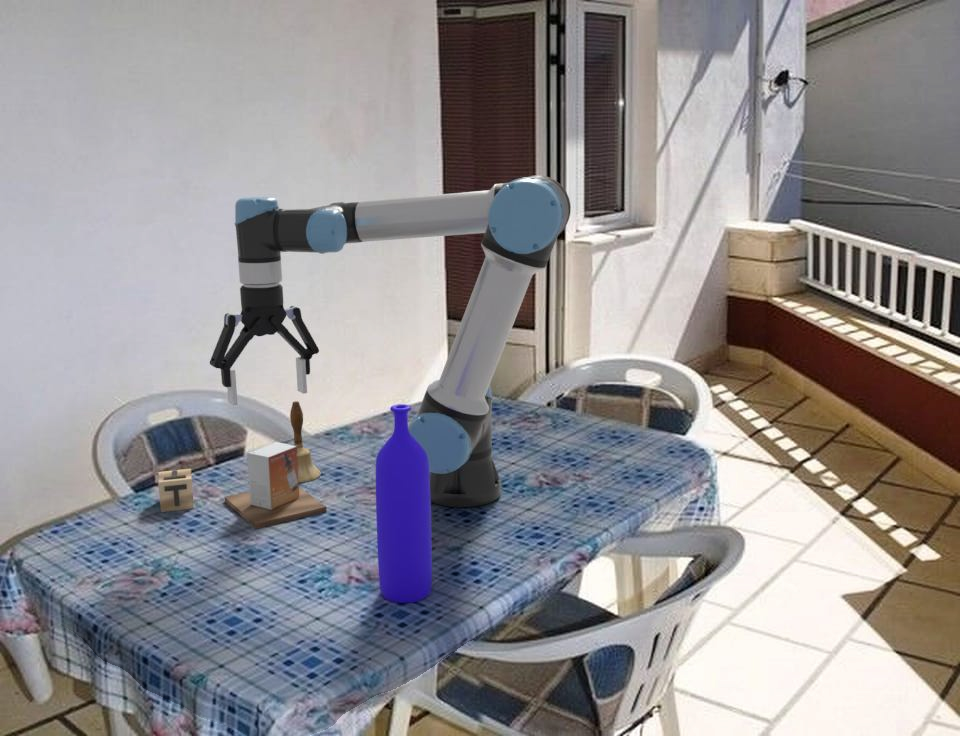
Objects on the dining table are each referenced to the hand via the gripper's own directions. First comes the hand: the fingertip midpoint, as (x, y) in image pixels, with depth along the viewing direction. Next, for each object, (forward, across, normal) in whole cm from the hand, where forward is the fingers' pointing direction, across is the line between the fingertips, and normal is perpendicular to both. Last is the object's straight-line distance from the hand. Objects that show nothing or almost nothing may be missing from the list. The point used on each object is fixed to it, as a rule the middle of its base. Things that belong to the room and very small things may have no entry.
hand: (268, 397), depth 180 cm
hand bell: (+22, -11, -13) cm, 28 cm away
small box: (+21, 0, 0) cm, 21 cm away
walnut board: (+22, 0, 0) cm, 22 cm away
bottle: (+22, -3, +45) cm, 50 cm away
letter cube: (+22, +15, -12) cm, 29 cm away
